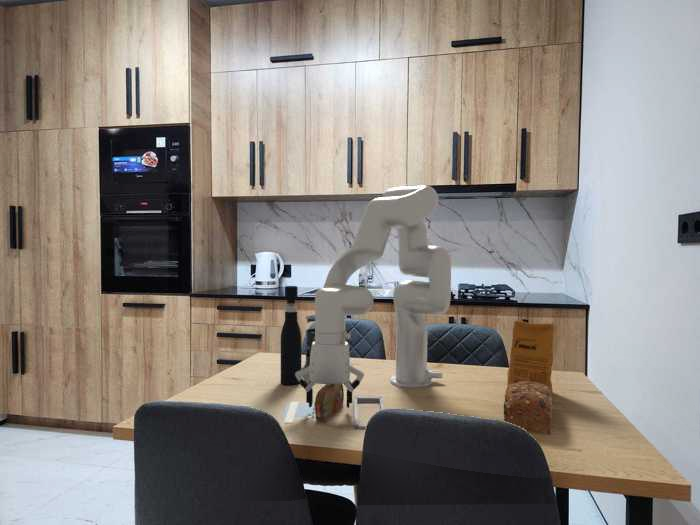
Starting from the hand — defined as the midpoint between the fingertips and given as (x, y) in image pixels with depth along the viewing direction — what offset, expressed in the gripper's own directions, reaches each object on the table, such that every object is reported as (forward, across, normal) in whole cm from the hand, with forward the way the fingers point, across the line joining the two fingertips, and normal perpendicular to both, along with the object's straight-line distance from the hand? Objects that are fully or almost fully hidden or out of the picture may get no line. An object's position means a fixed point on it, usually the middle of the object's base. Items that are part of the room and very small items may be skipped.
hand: (329, 405), depth 119 cm
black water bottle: (+3, +13, -27) cm, 30 cm away
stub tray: (+3, -10, +1) cm, 11 cm away
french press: (+3, +6, -50) cm, 50 cm away
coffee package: (+3, -56, -15) cm, 58 cm away
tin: (+3, 0, 0) cm, 3 cm away
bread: (+3, -48, +5) cm, 48 cm away
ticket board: (+3, +7, 0) cm, 8 cm away
